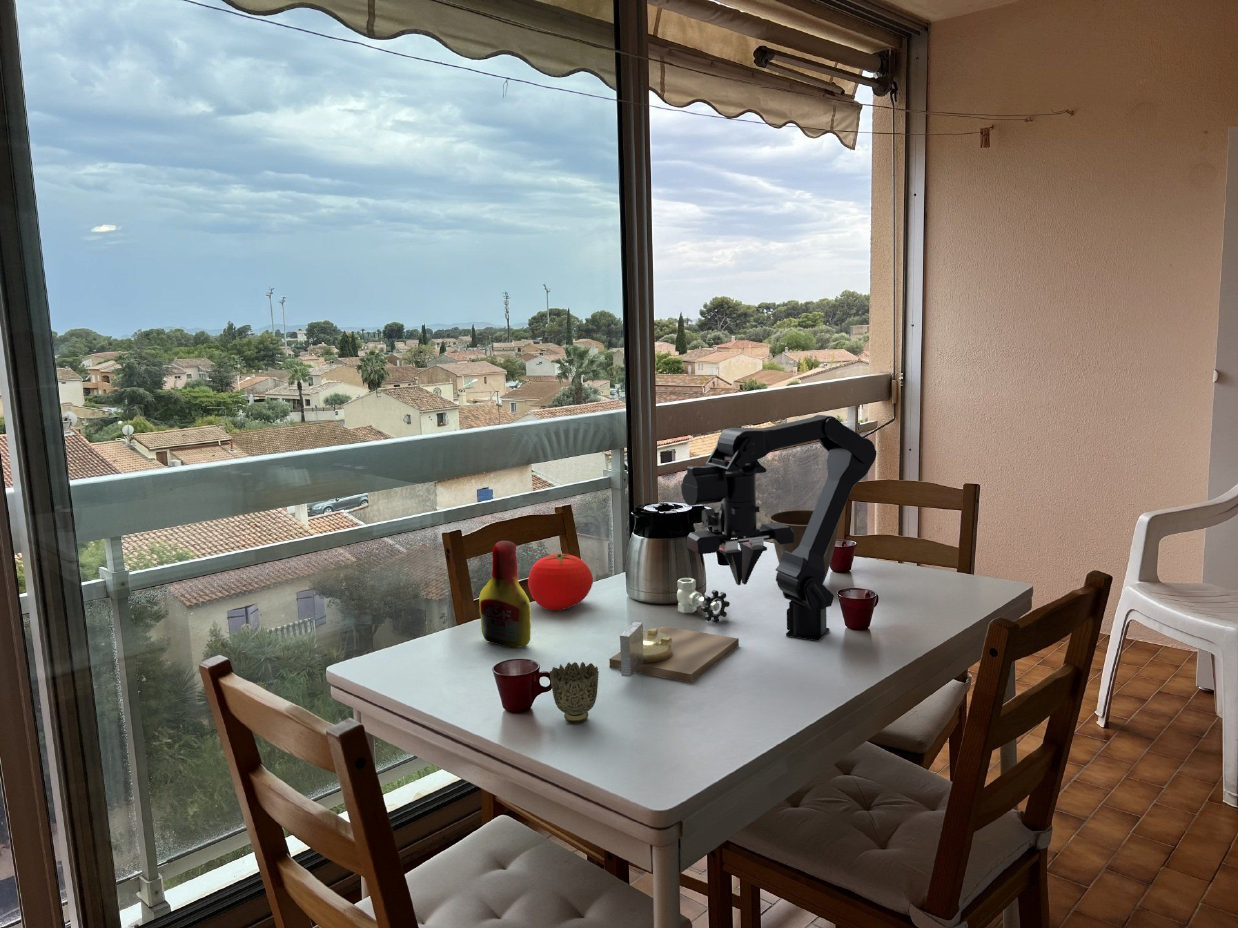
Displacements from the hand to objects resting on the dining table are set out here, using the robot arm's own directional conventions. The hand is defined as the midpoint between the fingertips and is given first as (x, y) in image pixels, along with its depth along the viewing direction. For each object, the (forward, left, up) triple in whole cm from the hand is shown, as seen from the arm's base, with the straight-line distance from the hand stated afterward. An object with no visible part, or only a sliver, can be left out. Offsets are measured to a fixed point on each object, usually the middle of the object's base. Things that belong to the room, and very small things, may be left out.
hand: (741, 584), depth 164 cm
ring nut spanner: (+11, +17, -10) cm, 23 cm away
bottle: (+41, +17, -12) cm, 46 cm away
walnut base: (+9, +9, -12) cm, 17 cm away
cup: (+10, +39, -12) cm, 42 cm away
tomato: (+45, -6, -12) cm, 47 cm away
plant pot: (+3, -40, -12) cm, 42 cm away
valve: (+16, -14, -12) cm, 24 cm away
